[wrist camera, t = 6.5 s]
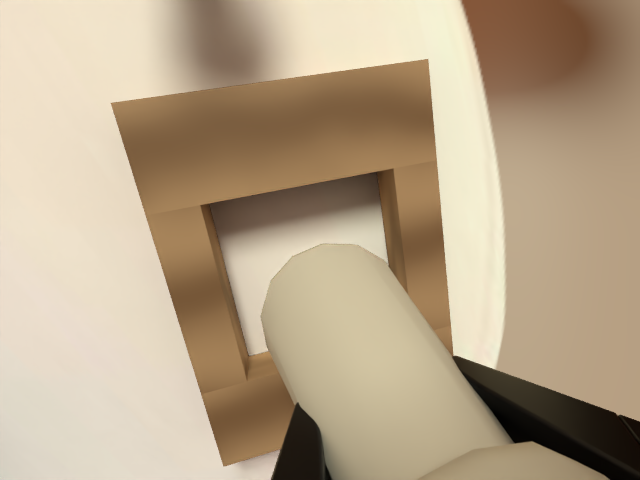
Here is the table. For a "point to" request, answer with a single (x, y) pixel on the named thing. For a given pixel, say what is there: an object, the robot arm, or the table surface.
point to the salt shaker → (386, 379)
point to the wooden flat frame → (271, 175)
